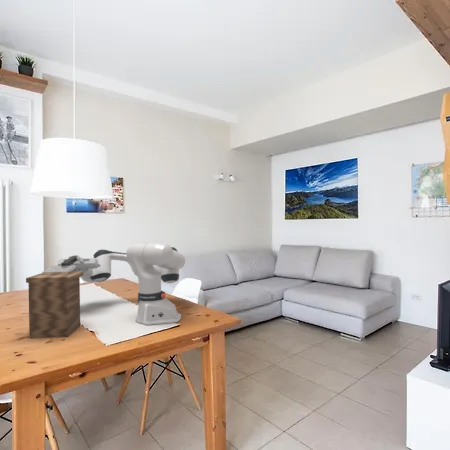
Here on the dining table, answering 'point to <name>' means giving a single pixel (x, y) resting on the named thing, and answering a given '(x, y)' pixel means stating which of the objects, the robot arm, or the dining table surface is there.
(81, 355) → the dining table surface
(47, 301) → the stand
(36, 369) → the dining table surface
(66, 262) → the turner
